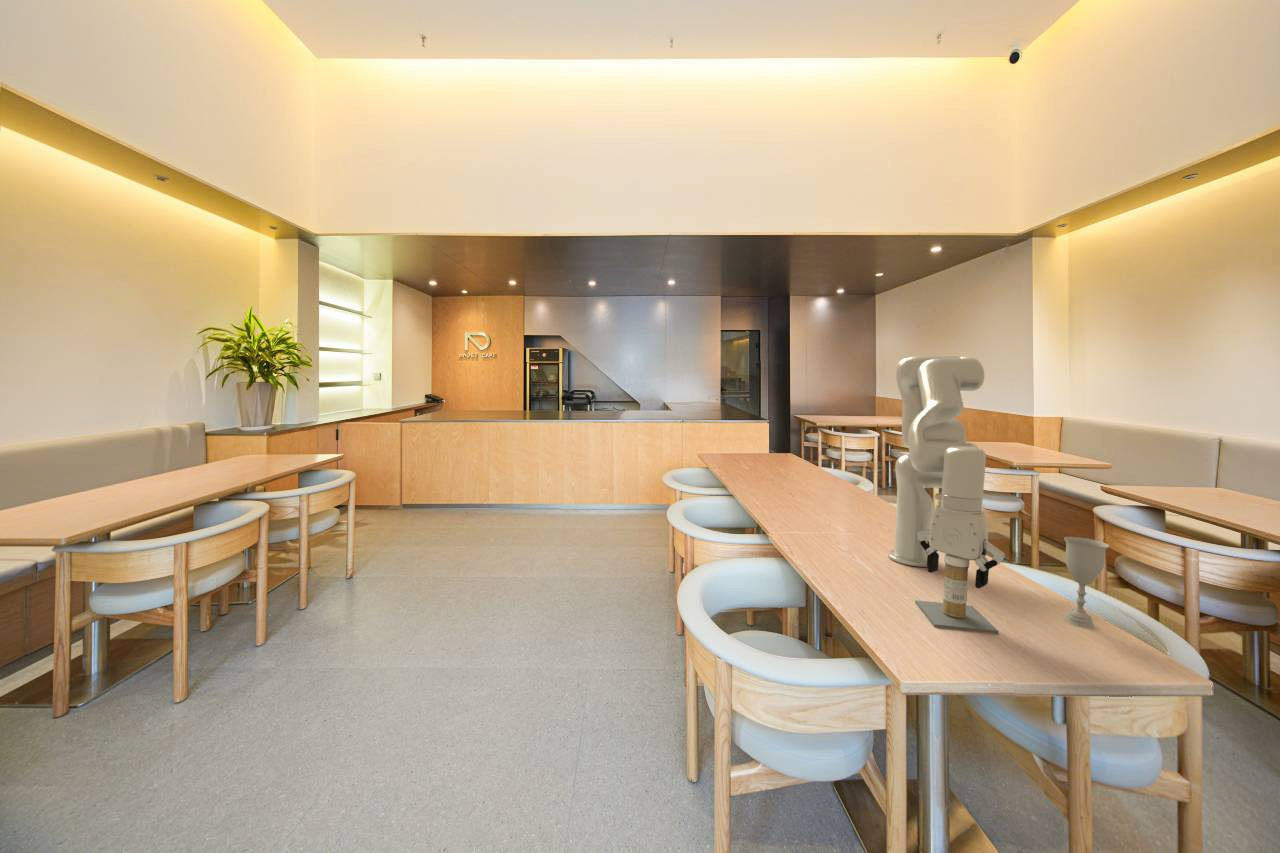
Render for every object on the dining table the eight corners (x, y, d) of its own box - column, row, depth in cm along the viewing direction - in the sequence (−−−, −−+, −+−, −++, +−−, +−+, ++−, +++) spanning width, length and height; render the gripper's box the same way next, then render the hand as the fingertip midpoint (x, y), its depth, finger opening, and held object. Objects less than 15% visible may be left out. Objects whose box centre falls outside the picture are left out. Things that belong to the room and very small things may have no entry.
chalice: (1050, 617, 107) (1056, 538, 106) (1067, 612, 110) (1074, 535, 109) (1091, 633, 101) (1098, 549, 99) (1108, 627, 103) (1116, 545, 102)
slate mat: (915, 602, 114) (915, 600, 114) (972, 608, 112) (972, 605, 112) (934, 627, 102) (934, 624, 102) (998, 633, 100) (998, 631, 100)
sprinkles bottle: (965, 612, 108) (969, 554, 107) (966, 621, 104) (970, 560, 103) (941, 607, 110) (945, 550, 109) (941, 615, 107) (944, 556, 106)
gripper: (911, 497, 110) (907, 569, 112) (999, 515, 96) (992, 597, 98) (929, 493, 114) (924, 562, 116) (1015, 510, 100) (1008, 589, 102)
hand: (955, 578), depth 107 cm, fingers open, 9 cm apart
